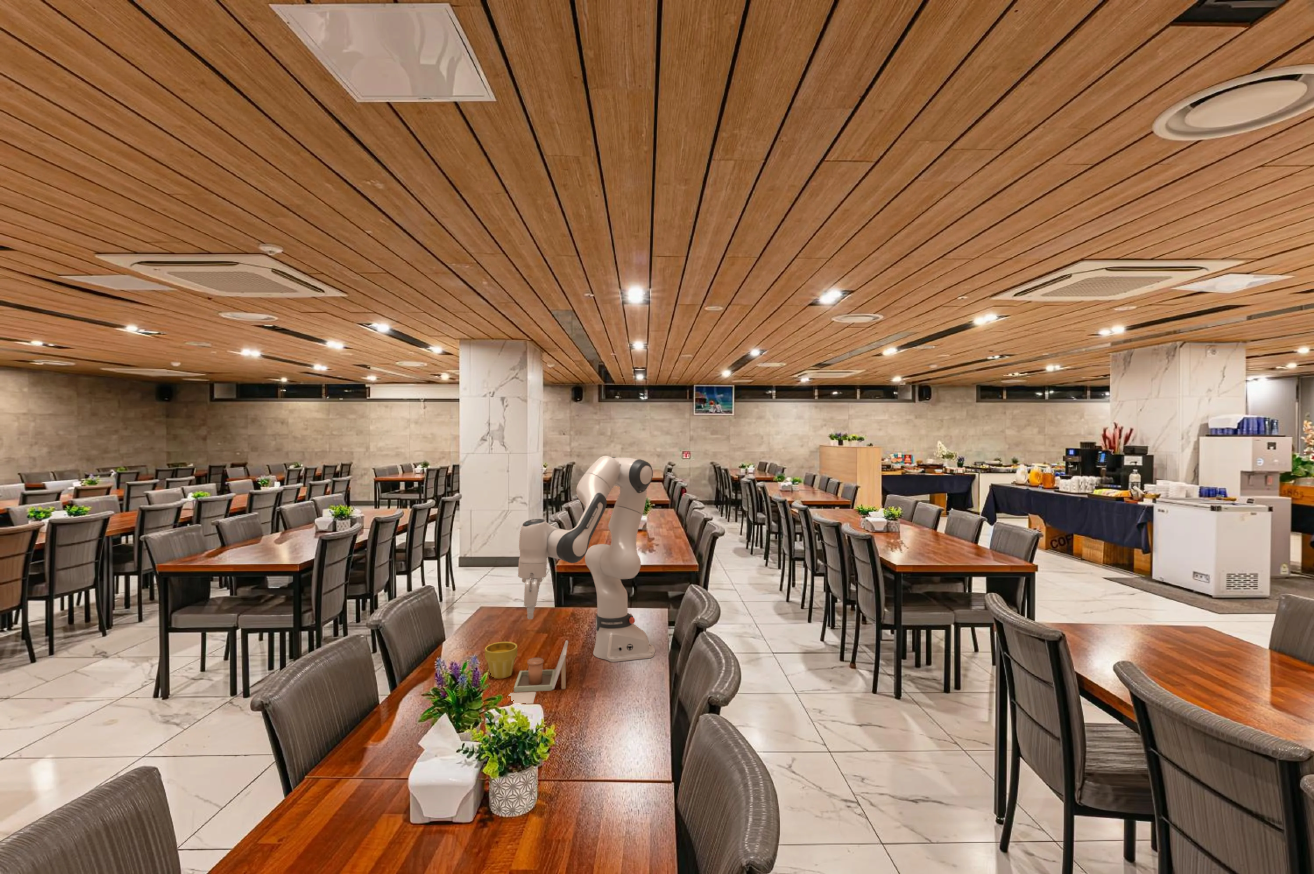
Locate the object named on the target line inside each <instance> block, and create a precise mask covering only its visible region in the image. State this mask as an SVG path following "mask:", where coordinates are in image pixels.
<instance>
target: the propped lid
mask: <svg viewBox="0 0 1314 874" xmlns="http://www.w3.org/2000/svg"><path fill="white" fill-rule="evenodd" d="M568 645H569V640H565V642H564V645H563V648H562V650H561V654H560V656H559V659H558V661H557V663H556V667H555V669H556V670H555V675H554V680H553V685H552V690H555V687H556V684H557V681H558V679H559V676H560V674H561V690H566V688H567V687H566V678H567V677H566V674H567V673H566V667H567V666H566V663H567V662H566V656H567V650H568V647H569V646H568Z"/></svg>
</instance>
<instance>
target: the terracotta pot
mask: <svg viewBox="0 0 1314 874" xmlns="http://www.w3.org/2000/svg"><path fill="white" fill-rule="evenodd" d="M543 663H544V658H542V657H531V658H529V659H527V665H528V669H527V671H528V683H529V684H530V685H539V684H541V683H542V682H543V672H542V670H543Z"/></svg>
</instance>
